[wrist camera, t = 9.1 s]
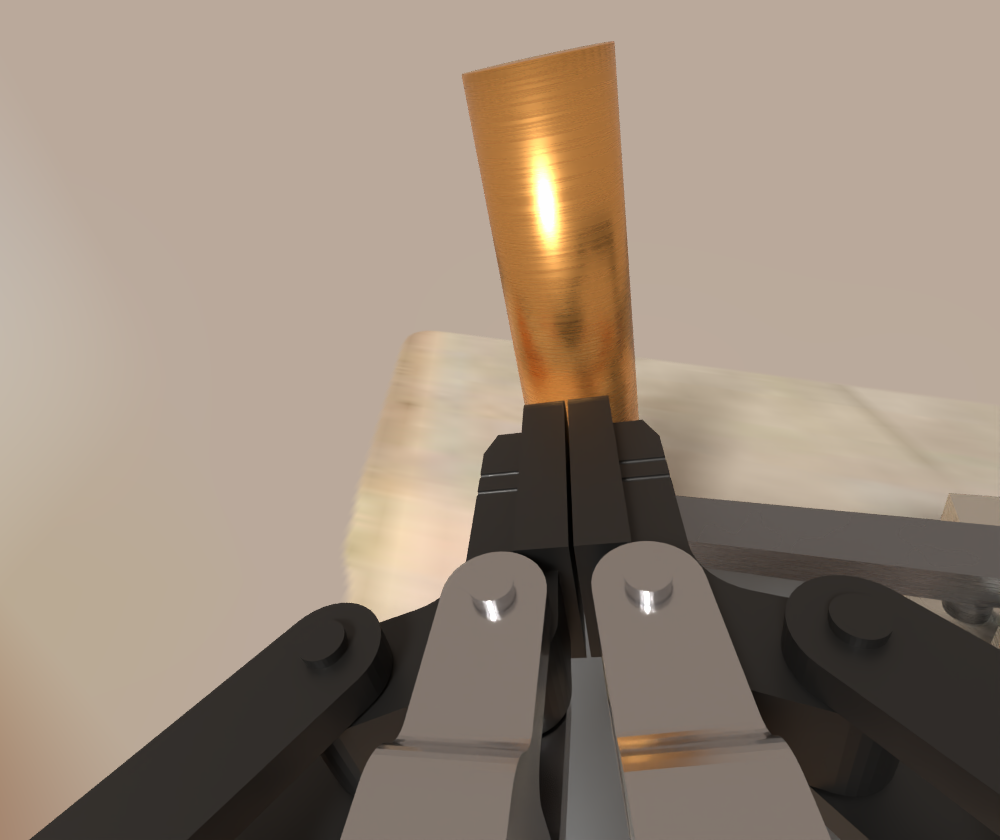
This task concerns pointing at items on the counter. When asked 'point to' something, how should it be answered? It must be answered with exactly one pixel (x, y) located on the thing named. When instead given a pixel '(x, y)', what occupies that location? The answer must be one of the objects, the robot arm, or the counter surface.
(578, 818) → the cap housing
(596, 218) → the hub and bar
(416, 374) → the counter surface
